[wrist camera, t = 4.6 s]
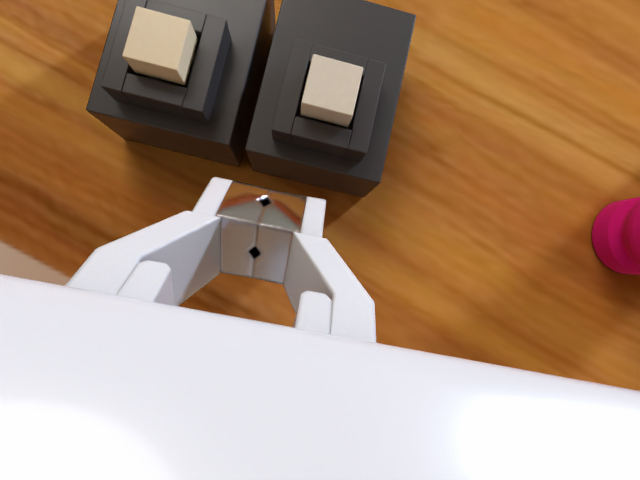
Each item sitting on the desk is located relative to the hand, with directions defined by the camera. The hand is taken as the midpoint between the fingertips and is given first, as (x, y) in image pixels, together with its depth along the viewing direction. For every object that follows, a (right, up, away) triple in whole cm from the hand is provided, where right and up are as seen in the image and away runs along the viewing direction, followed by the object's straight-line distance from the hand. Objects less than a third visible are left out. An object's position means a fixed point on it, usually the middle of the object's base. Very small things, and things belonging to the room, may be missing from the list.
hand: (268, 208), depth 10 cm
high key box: (-8, +12, +18) cm, 23 cm away
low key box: (+2, +9, +19) cm, 21 cm away
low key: (+2, +8, +12) cm, 15 cm away
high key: (-8, +10, +12) cm, 17 cm away
